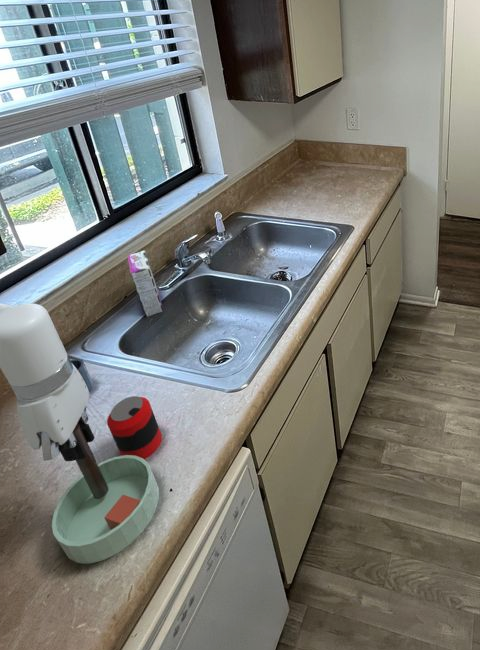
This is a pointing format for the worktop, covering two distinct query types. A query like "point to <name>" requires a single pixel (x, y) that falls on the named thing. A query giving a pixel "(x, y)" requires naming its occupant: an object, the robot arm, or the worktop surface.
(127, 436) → the soda can
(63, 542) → the bowl
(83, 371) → the utensil holder
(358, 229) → the worktop surface
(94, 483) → the stirring stick
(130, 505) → the block
